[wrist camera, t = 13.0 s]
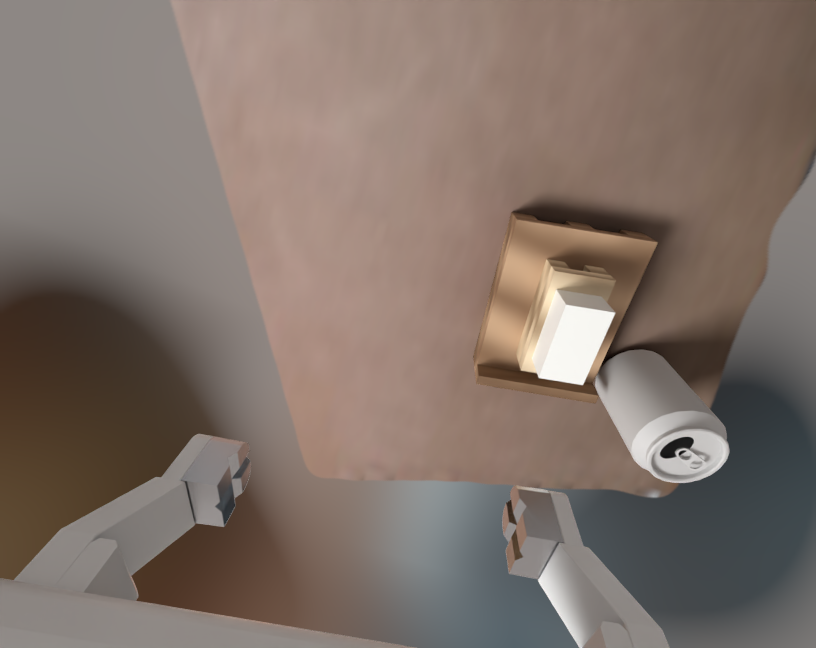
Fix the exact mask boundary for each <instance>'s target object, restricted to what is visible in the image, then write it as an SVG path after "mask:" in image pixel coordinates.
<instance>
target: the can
mask: <svg viewBox="0 0 816 648" xmlns="http://www.w3.org/2000/svg"><path fill="white" fill-rule="evenodd" d="M595 387H596V389H597V392H598V394H599V396H600V398H601V400H602V402H603V404H604V405H605V407H606V409H607V411H608V413H609V415H610V416H611V418H612V420H613V422H614V424H615V426H616V427H617V429H618V431H619V433H620V435H621V437H622V438H623V440H624V442H625V444H626V446H627V448H628V449H629V451H630V453H631V455H632V457H633V459H634V460H635V461H636V462H637V463H638V464H639V465H640V466H641V467H642V468H644V469H646V470H648V471H650V472H651V473H652V474H653V475H654V476H655V477H657V478H659V479H661V480H663V481H668V482H673V483H685V482H686V483H687V482H692V481H696V480H700V479H702V478H705V477H707V476H709V475H711V474H713V473H714V472H716V471H717V470H718V469H720V468H721V467H722V465H723V464H724V463H725V461H726V460H727V458H728V454H729V451H730V450H729V446H728V442H727V441H726V438H727V434H726V429H725V426H724V425H723V424H722V423H721V422H720V421H719V419H718V418H717V417H716V416H715V415H714V414H713V412H712V411H711V410H710V409H709V408H708V407H707V406H706V405H705V403H704V402H703V401H702V400H701V399H700V398H699V397H698V396H697V395H696V393H695V392H694V391H693V390H692V389H691V388H690V387H689V386H688V385H687V383H686V382H685V381H684V380H683V379H682V378H681V377H680V376H679V375H678V373H677V372H676V371H675V370H674V369H673V368H672V367H671V366H670V364H669V363H668V362H667V361H666V360H665V359H664V358H663V357H662V356H661V355H659V354H657V353H655V352H653V351H648V350H642V349H641V350H629V351H626V352H623V353H620V354H618V355H616V356H614V357H613V358H611V359H609V360H608V361H607V362H606V363H605V364H604V365H603V366H602V367H601V368H600V370H599V372H598V374H597V376H596V383H595Z"/></svg>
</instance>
